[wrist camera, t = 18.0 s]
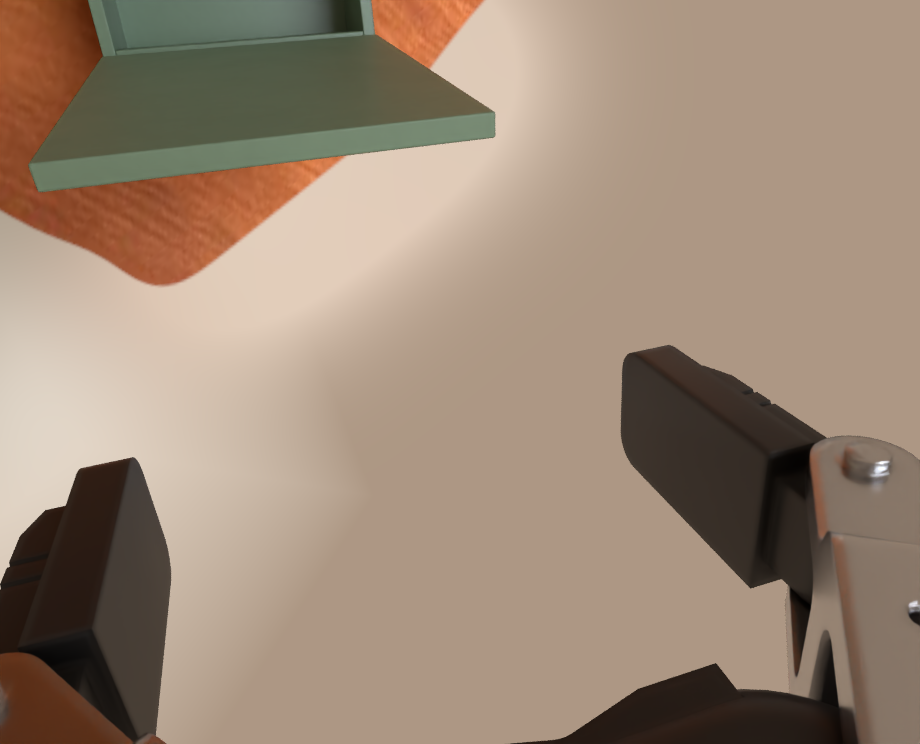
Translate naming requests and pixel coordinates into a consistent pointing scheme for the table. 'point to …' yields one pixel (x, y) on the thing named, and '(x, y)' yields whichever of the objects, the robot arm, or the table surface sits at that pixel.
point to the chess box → (222, 23)
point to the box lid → (250, 111)
